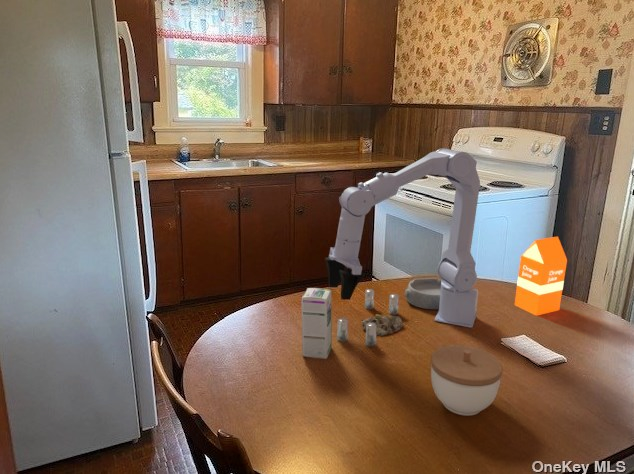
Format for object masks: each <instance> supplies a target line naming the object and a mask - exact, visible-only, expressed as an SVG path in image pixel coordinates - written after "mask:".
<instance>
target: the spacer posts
mask: <svg viewBox="0 0 634 474" xmlns="http://www.w3.org/2000/svg"><path fill="white" fill-rule="evenodd" d="M364 295H365V296H364V309H366V310H373V309H375V307H374V306H375V305H374V303H375V290H374V289H373V288H367V289H365V292H364ZM399 301H400V295H399V294H398V293H390V294H389V302H388V303H389V304H388V314H390V316H391V315H392V316H396V315H398V314H399ZM336 322H337V323H336V324H337V325H336V326H337V330H336V331H337V332H336V333H337V334H336V340H337V341H339V342H347V340H348V324H349V323H348V318H345V317H340V318H337V321H336ZM376 330H377V325H376V324H375V323H367V324H366V330H365V346H367V347H369V348H370V347H371V348H374V347H376V345H377V335H376Z"/></svg>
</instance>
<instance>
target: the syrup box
mask: <svg viewBox="0 0 634 474" xmlns="http://www.w3.org/2000/svg"><path fill="white" fill-rule="evenodd" d="M300 302H301V344H302V345H301V346H302V347H301V350H302V352H301V353H302V357H305V358H311V359H323V360H327V359H328V357H329V355H330V352H331V348H332V347H333V346H332V342H333V341H332V338H333V337H332V335H333V334H332V329H333V328H332V326H333V325H332V324H333V323H332V321H333V320H332V290H331V289H329V288H322V287H307V288H306V290H305V292H304V293H303V294H302V297H301V301H300Z"/></svg>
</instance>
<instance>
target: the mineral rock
mask: <svg viewBox="0 0 634 474" xmlns="http://www.w3.org/2000/svg"><path fill="white" fill-rule="evenodd" d="M367 323H375V324H376V325H377V330H376V336H381V337H382V336H385V335H390V334H393V333H396V332H398V331H400V330H401V328H402V327H403V324H404V323H403V319H402V318H401V317H400V316H396V315H393V316H391V315H385V316H383V315H381V314H378V313H376V314H375V315H374V317H368V318H365V319H364V320H361V324H362V328H363V330H365V331H366V324H367Z"/></svg>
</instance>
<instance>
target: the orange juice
mask: <svg viewBox="0 0 634 474" xmlns="http://www.w3.org/2000/svg"><path fill="white" fill-rule="evenodd" d="M567 263H568V259H567V256H566V253H565V251H564V248H563V246H562V244H561V240H560V239H559V236H553V237H552V236H551V237H546V238H541V239H535V240H534V241H533V242H532V244H531V245H530V246H529V247H528V248H527V249H526V250H525V251H524V252H523V254H521V255H520V261H519V266H518V268H519V269H518V275H517V282H516V291H515V299H514V306H516V307H518V308H520V309H522V310H524V311H526V312H528V313H530V314H532V315H534V316H541V315H544V314H549V313H552V312H557V311H560V307H561V301H562V300H561V299H562V294H563V289H564V283H565V276H566V270H567Z"/></svg>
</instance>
